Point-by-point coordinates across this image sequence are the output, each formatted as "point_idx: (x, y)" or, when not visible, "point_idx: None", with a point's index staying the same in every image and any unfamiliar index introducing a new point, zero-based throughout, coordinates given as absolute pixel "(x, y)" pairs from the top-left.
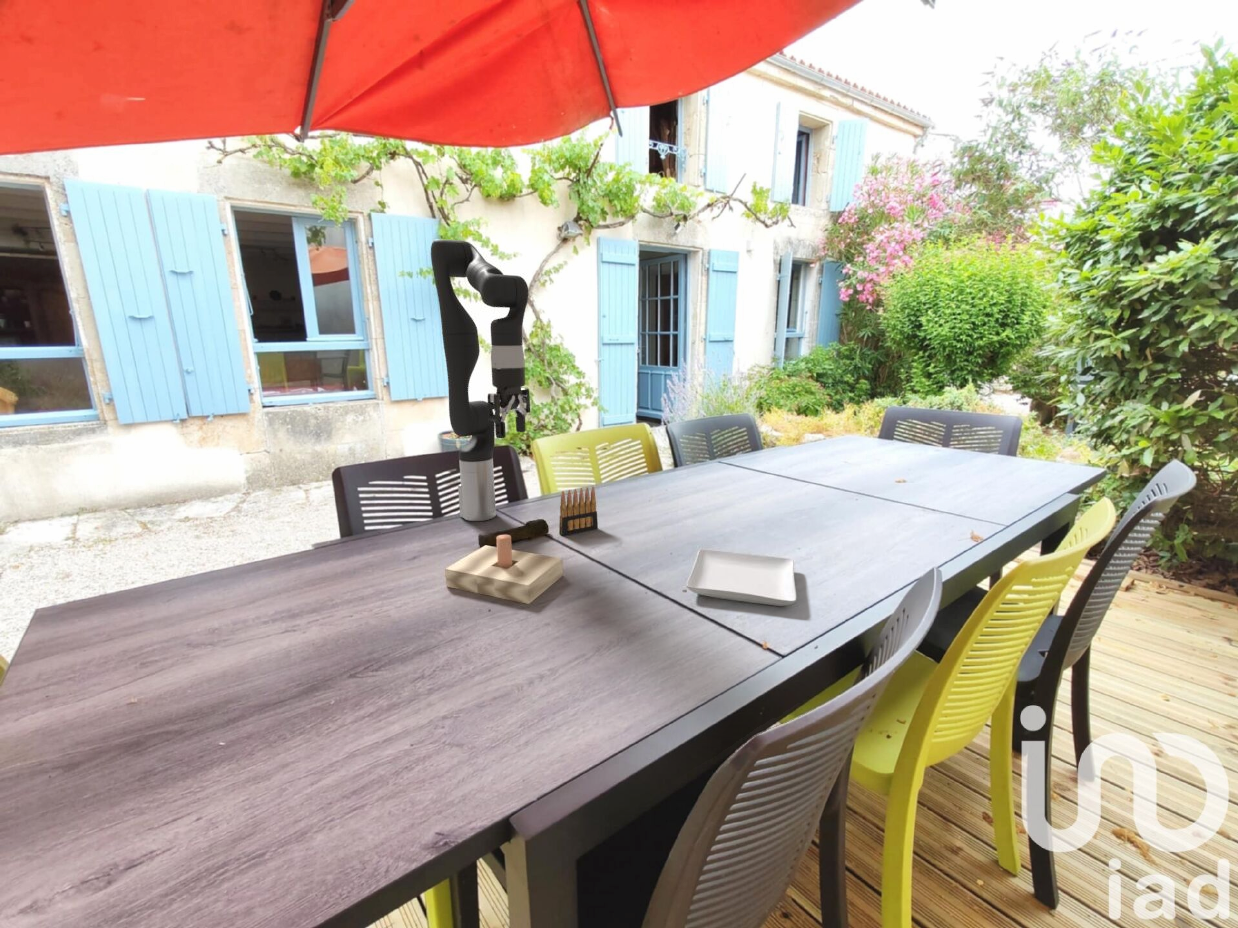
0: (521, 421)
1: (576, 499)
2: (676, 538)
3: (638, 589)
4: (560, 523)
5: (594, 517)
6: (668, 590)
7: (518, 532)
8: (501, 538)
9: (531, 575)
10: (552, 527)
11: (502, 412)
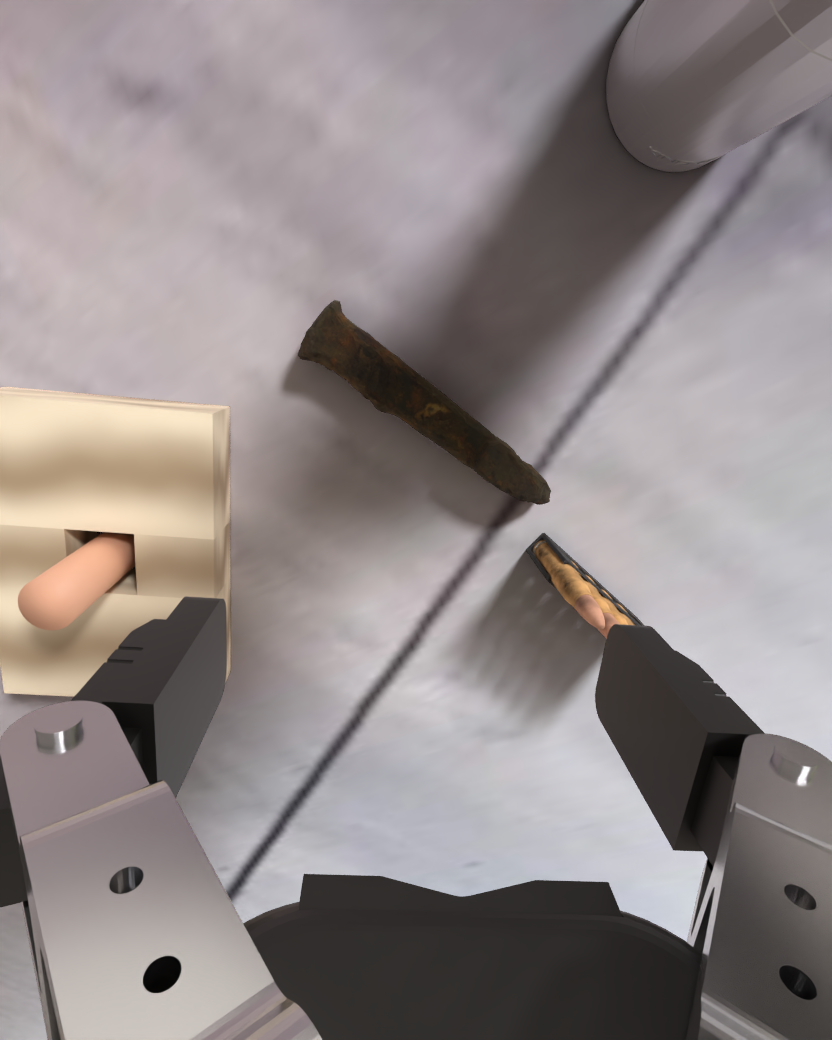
0: (650, 771)
1: None
2: (587, 853)
3: (233, 851)
4: (551, 554)
5: None
6: (255, 903)
7: (428, 437)
8: (31, 603)
9: (65, 673)
10: (604, 481)
11: (38, 985)
